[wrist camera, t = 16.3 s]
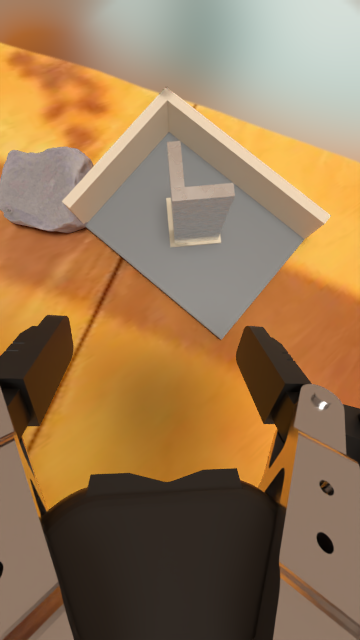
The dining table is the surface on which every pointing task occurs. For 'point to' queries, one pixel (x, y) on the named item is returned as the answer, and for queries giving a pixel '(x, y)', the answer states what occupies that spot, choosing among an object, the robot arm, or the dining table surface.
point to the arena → (157, 223)
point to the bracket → (196, 203)
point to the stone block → (42, 188)
